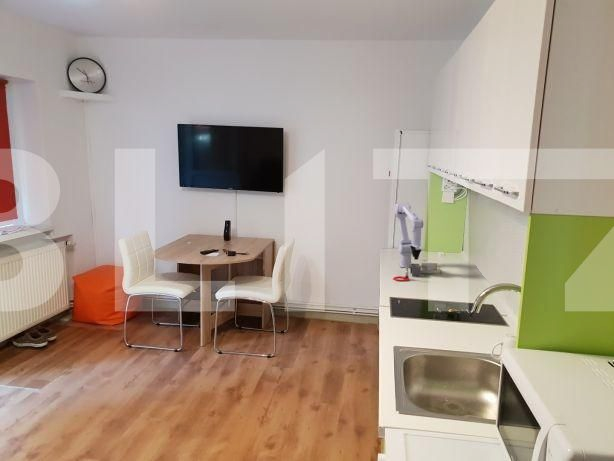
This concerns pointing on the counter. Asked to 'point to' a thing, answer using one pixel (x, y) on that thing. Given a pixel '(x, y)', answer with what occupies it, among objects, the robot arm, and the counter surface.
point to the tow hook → (402, 276)
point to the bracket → (415, 270)
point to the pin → (428, 266)
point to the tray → (432, 271)
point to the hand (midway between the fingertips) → (415, 258)
